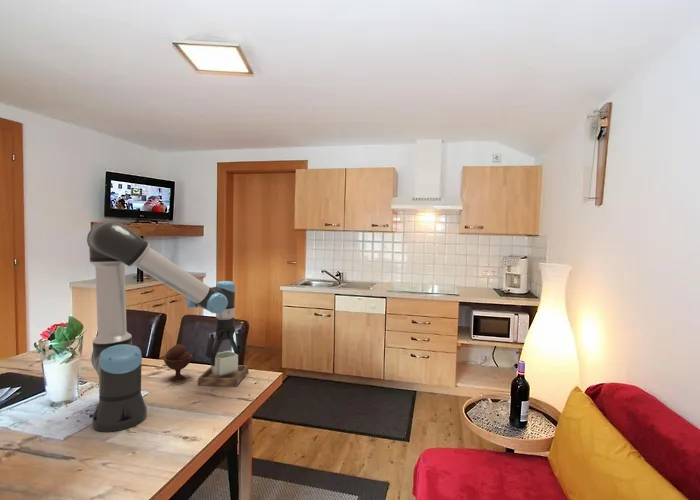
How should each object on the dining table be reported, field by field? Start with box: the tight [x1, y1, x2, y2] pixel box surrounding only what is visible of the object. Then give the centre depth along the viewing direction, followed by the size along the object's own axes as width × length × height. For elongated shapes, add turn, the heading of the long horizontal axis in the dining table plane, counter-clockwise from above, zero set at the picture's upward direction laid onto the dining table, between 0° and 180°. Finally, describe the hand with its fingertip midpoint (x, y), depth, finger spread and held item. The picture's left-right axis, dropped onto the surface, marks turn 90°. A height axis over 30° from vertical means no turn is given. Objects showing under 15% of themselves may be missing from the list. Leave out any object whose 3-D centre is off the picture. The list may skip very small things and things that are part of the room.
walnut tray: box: [197, 364, 249, 388], centre depth 157 cm, size 16×16×3 cm
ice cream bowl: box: [163, 343, 193, 382], centre depth 155 cm, size 11×11×15 cm
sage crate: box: [212, 350, 239, 376], centre depth 156 cm, size 8×8×7 cm
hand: (224, 370), depth 157 cm, fingers closed on sage crate, 8 cm apart
